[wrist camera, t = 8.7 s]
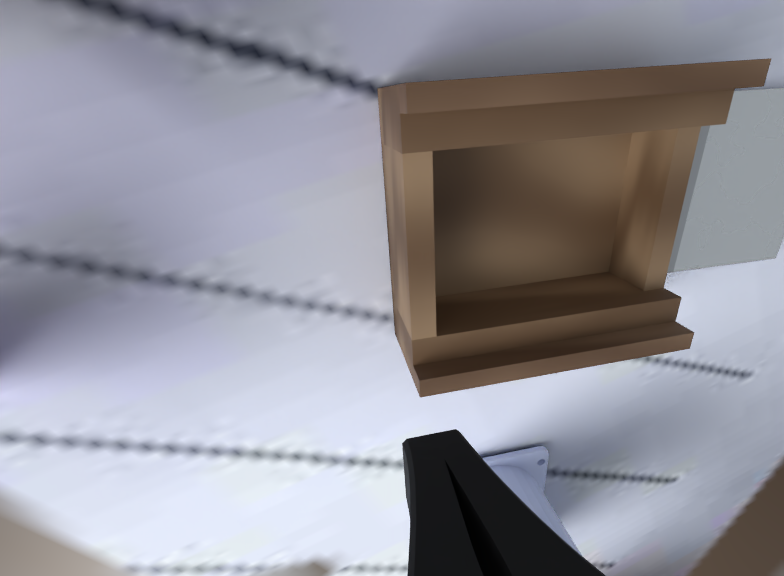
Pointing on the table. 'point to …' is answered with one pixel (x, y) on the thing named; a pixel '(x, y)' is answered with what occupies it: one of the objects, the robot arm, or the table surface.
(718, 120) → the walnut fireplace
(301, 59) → the table surface
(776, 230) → the cover plate
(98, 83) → the table surface
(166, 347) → the table surface
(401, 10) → the table surface
